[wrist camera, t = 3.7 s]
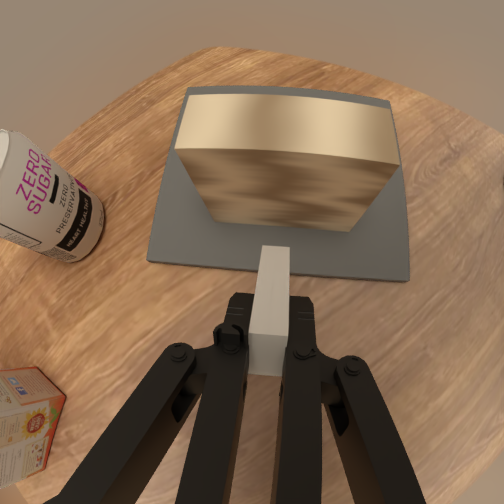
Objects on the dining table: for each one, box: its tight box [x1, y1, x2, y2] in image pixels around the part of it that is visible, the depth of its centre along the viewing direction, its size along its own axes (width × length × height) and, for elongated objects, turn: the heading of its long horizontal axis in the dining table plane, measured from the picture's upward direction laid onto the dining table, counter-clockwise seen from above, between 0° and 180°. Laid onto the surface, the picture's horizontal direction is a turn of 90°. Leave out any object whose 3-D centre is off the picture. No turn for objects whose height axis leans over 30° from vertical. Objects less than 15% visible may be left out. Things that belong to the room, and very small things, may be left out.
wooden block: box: [174, 94, 400, 232], centre depth 21 cm, size 12×4×12 cm, turn 85°
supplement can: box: [0, 129, 104, 263], centre depth 21 cm, size 8×8×15 cm
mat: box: [146, 86, 410, 282], centre depth 28 cm, size 24×21×1 cm
